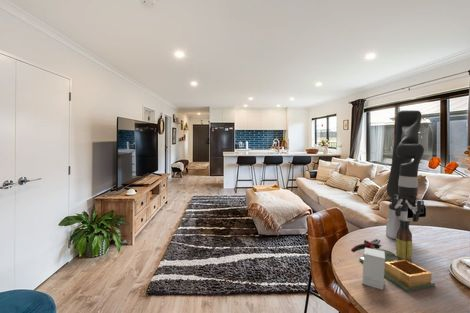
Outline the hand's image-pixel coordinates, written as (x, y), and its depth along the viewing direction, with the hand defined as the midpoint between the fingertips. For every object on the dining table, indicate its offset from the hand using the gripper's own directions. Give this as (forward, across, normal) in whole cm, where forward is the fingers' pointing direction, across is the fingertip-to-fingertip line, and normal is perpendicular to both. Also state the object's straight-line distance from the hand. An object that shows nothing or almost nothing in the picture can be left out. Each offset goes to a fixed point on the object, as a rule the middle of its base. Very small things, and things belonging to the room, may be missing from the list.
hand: (406, 218), depth 113 cm
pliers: (+21, +14, +7) cm, 26 cm away
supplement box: (+21, -11, +30) cm, 38 cm away
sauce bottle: (+21, 0, 0) cm, 21 cm away
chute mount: (+20, -8, +15) cm, 27 cm away
